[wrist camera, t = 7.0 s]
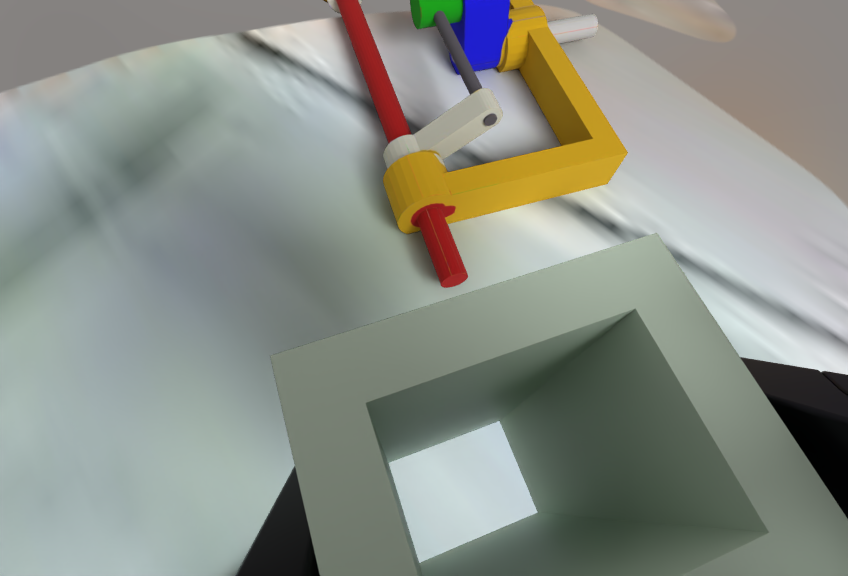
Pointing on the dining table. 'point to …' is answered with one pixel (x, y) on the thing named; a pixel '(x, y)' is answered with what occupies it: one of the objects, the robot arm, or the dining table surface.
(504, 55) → the mechanical clamp
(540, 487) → the sleeve
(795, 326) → the dining table surface
